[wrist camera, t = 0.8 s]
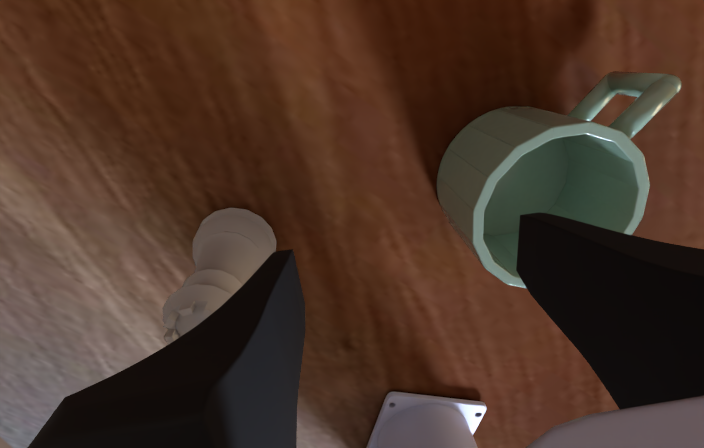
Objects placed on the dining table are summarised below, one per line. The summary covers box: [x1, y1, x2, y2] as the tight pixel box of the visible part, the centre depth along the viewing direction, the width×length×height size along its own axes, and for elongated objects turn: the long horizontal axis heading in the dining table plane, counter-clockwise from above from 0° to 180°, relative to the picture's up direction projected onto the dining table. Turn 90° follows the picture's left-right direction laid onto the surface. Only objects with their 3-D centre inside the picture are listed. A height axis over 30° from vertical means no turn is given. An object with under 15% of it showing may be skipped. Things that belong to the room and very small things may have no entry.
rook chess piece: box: [163, 208, 277, 345], centre depth 18 cm, size 4×4×8 cm
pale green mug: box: [437, 71, 682, 288], centre depth 18 cm, size 11×8×6 cm
